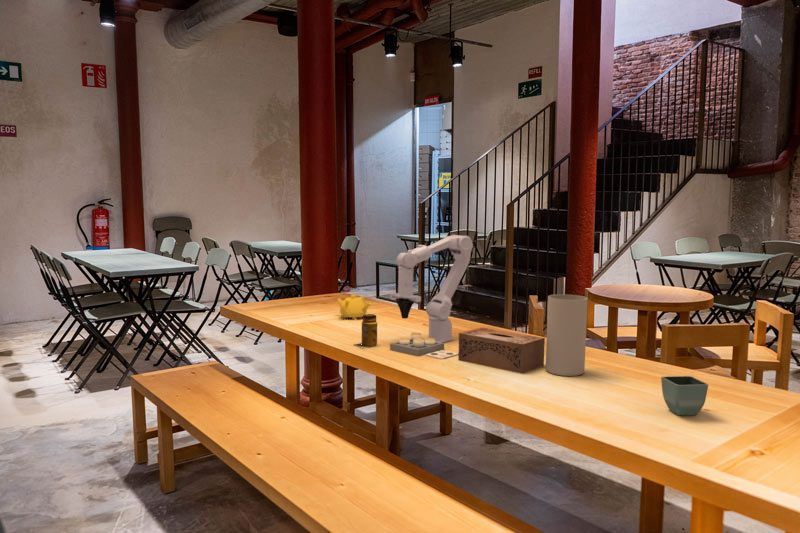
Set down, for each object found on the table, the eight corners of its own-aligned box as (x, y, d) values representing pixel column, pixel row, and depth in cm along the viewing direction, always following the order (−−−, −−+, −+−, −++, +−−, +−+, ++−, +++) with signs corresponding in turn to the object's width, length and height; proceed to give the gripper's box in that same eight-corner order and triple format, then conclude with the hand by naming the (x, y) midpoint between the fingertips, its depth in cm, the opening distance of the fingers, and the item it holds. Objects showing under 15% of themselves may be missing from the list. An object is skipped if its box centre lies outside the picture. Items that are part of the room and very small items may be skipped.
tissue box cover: (458, 360, 225) (458, 333, 224) (481, 354, 235) (482, 327, 234) (521, 374, 208) (522, 344, 207) (543, 366, 218) (544, 337, 217)
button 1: (404, 344, 242) (404, 337, 242) (412, 346, 240) (412, 338, 239) (397, 346, 239) (397, 338, 239) (404, 348, 237) (405, 340, 236)
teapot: (381, 317, 307) (381, 294, 306) (359, 323, 292) (359, 299, 291) (347, 313, 318) (348, 291, 317) (325, 318, 303) (325, 295, 302)
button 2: (415, 339, 247) (415, 332, 247) (423, 341, 244) (423, 333, 244) (408, 341, 244) (408, 333, 244) (416, 342, 241) (416, 335, 241)
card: (442, 351, 238) (442, 349, 238) (459, 354, 233) (459, 353, 233) (424, 355, 231) (424, 354, 231) (442, 359, 225) (442, 357, 225)
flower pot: (658, 408, 174) (660, 375, 173) (689, 407, 175) (691, 375, 174) (675, 418, 165) (676, 385, 164) (707, 418, 166) (709, 384, 165)
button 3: (418, 345, 238) (418, 337, 237) (426, 346, 235) (426, 338, 235) (411, 346, 235) (411, 338, 234) (419, 348, 232) (419, 340, 232)
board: (416, 343, 250) (416, 337, 250) (444, 349, 241) (444, 343, 240) (390, 349, 239) (390, 343, 239) (418, 356, 230) (418, 349, 229)
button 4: (429, 345, 242) (429, 337, 242) (437, 346, 240) (437, 338, 239) (422, 346, 240) (422, 338, 239) (430, 348, 237) (430, 340, 237)
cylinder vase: (537, 369, 214) (540, 295, 211) (568, 365, 219) (570, 293, 216) (561, 378, 202) (564, 300, 200) (592, 374, 207) (595, 299, 205)
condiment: (381, 346, 245) (381, 315, 244) (362, 348, 241) (362, 317, 240) (371, 342, 251) (371, 312, 250) (353, 345, 247) (353, 314, 246)
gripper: (385, 282, 248) (384, 316, 250) (412, 286, 239) (412, 321, 240) (397, 281, 254) (396, 314, 255) (425, 284, 244) (424, 319, 245)
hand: (404, 318), depth 248 cm, fingers closed
